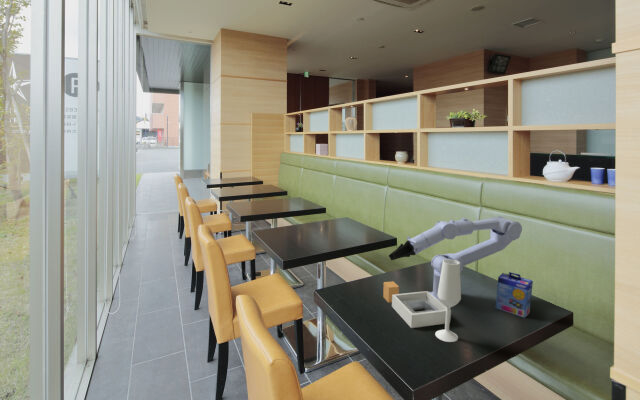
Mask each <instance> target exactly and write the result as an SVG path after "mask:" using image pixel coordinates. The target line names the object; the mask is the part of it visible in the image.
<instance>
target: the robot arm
mask: <svg viewBox="0 0 640 400" xmlns="http://www.w3.org/2000/svg"><path fill="white" fill-rule="evenodd" d="M484 230H490V234H489V237H490V238H489V239H487V240H485V241H482V242H480V243H477V244H475V245H471V246H470V247H467V248H465V249H463V250H460V251H457V252H456V253H445V254H436V255H434V256H433V257H432V259H431V261H430V264H431V267H432V269H433V283H432V285H433V286H432V291H428V292H429V293H431V294H432V295H433V296H434V297H435V298H437V299H438V300H439V298H438V296H437V294H438V288H439V282H440V276H441V269H442V263H443V260H445V259H453V260H457V261H459V262H460V273H461V272H463V269H464V268H463V267H464V266H467V265H469V264H472V263H474V262H476V261H479V260H482V259H484V258H487V257H489V256H491V255H494V254H496V253H498V252H501V251H503V250H504V249H505V248H507V247H508V246H509V245H510V244H511V243H512V242H514V241H516V240H519V238H520V237H521V234H522V230H523V226H522V224H521V223H520V222H519V221H514V220H511V219H508V218H505V217H503V216H493V217H490V218H483V219H478V220H474V221H472V220H471V219H468V218H466V217H462V218H461V219H459V220H458V219H457V220H453V219H449V221H446V220H441V221H439V220H438V221H437V222H436V223H435V224H434V226H432V228H429V229H428V230H425V231H423V232H421V233H420V234H416V235H415V236H413V237H410V236H406V239H407V240H406V241H405V243H404V244H403V243H401V244H400V245H399V246H398V247H397V248H396V249H395V250H394V251H392V252H391V253H390V254H389V255H388V257H389V259H390V261H395V260H398V259H401V258H409V257H411V256H415V255H418V254H419V253H421V252H423V251H425V250H427V249H428V248H430V247H433V246H434V245H437V244H438V243H440V242H442V241H444V240H445V239H446V240H450V241H451V240H455V238H456V237H461V236H465V235H466V236H467V235H472V234H473V232H474V231H484ZM460 283H461V284H462V282H461V280H460ZM439 301H440V300H439ZM440 302H441V301H440ZM441 303H442V302H441Z"/></svg>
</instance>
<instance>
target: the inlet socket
mask: <svg viewBox="0 0 640 400" xmlns="http://www.w3.org/2000/svg"><path fill="white" fill-rule="evenodd" d="M401 302H402V303H403V304H404V305H405V306H406V307H407V308H408V309H409V310H410V311H411V312H412V313H413V314H414V313H422V312H430V311H439V309H438V308H436V307H435V306H434V305H433V304H432V303H431V302H429V301H428V300H427V299H426V298H424V299H416V300H407V301H401ZM417 310H420V311H417Z"/></svg>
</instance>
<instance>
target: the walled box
mask: <svg viewBox="0 0 640 400" xmlns="http://www.w3.org/2000/svg"><path fill="white" fill-rule="evenodd" d="M429 292H430V291H428V290H426V291H414V292H407V293H405V292H404V293H399V294H395V295H392V302H391V307H392V309H394V310H395V312H396V313H397V314H398V315H399V316H400V318H402V320H403V321H404V322H405V323H406V324H407V325H408V326H409V327H410V328H411V329H414V328H422V327H423V328H424V327H430V326H435V325H445V320H446V306H445V305H444V304H443V303H442V302H440V301H439V300H438V299H437V298H435V297H434V296H433V295H432V294H431V293H429ZM424 298H426V299H427V300H428V301H429V302H431V303H432V304H433V305H434V306H435V307H436V308H438V309H439V311H430V312H422V313H414V314H413V313H412V312H411V311H410V310H409V309H408V308H407V307H406V306H405V305H404V304H403V303H402V302H401V301H407V300H416V299H424ZM451 315H452V310H451V309H450V319H452V317H451ZM450 323H451V320H450V321H449V324H450Z"/></svg>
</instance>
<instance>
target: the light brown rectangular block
mask: <svg viewBox="0 0 640 400" xmlns="http://www.w3.org/2000/svg"><path fill="white" fill-rule="evenodd" d="M382 292H383V295H382V297H383V299H385V301H386V302H387V303H388V304H392V295H395V294H400V286H399V285H398V284H397V283H396V282H394V280H392V281H384V282H383V291H382Z"/></svg>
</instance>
